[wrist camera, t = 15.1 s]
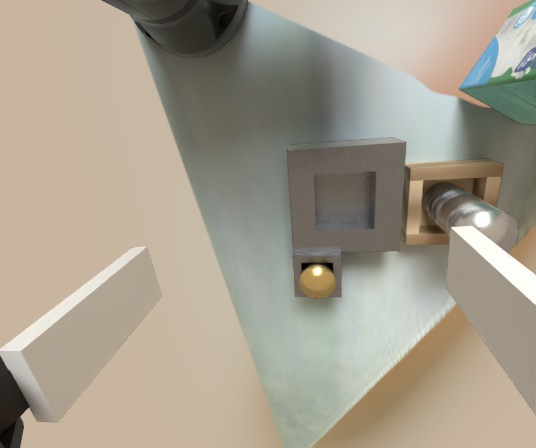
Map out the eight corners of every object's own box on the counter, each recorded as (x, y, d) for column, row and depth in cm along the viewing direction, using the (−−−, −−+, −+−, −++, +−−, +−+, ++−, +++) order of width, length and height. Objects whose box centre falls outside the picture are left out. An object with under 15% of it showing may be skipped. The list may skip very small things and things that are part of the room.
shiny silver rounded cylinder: (423, 183, 40) (463, 211, 29) (465, 181, 39) (523, 210, 28) (419, 218, 41) (456, 259, 30) (460, 218, 41) (512, 259, 29)
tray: (402, 163, 40) (410, 168, 37) (485, 158, 39) (503, 163, 35) (398, 233, 44) (405, 244, 40) (474, 232, 42) (490, 243, 38)
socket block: (291, 144, 42) (286, 151, 34) (391, 137, 39) (408, 142, 32) (298, 268, 48) (295, 296, 40) (385, 267, 46) (398, 297, 38)
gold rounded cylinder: (301, 245, 43) (298, 267, 37) (332, 244, 43) (335, 267, 36) (302, 272, 45) (300, 298, 39) (333, 272, 44) (335, 298, 38)
